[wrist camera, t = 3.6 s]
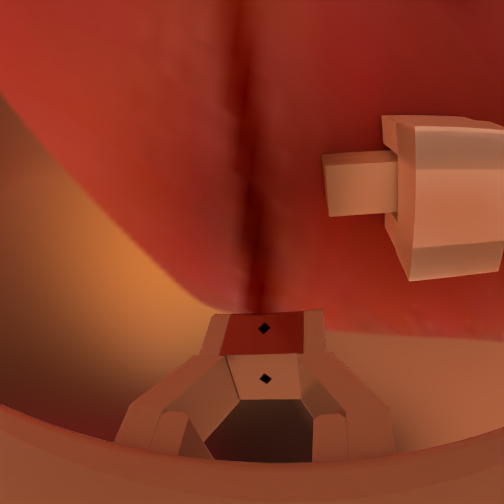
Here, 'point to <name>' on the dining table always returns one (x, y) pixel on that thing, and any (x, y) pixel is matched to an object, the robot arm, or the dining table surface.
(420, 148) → the keeper
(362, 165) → the rail
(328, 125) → the dining table surface
